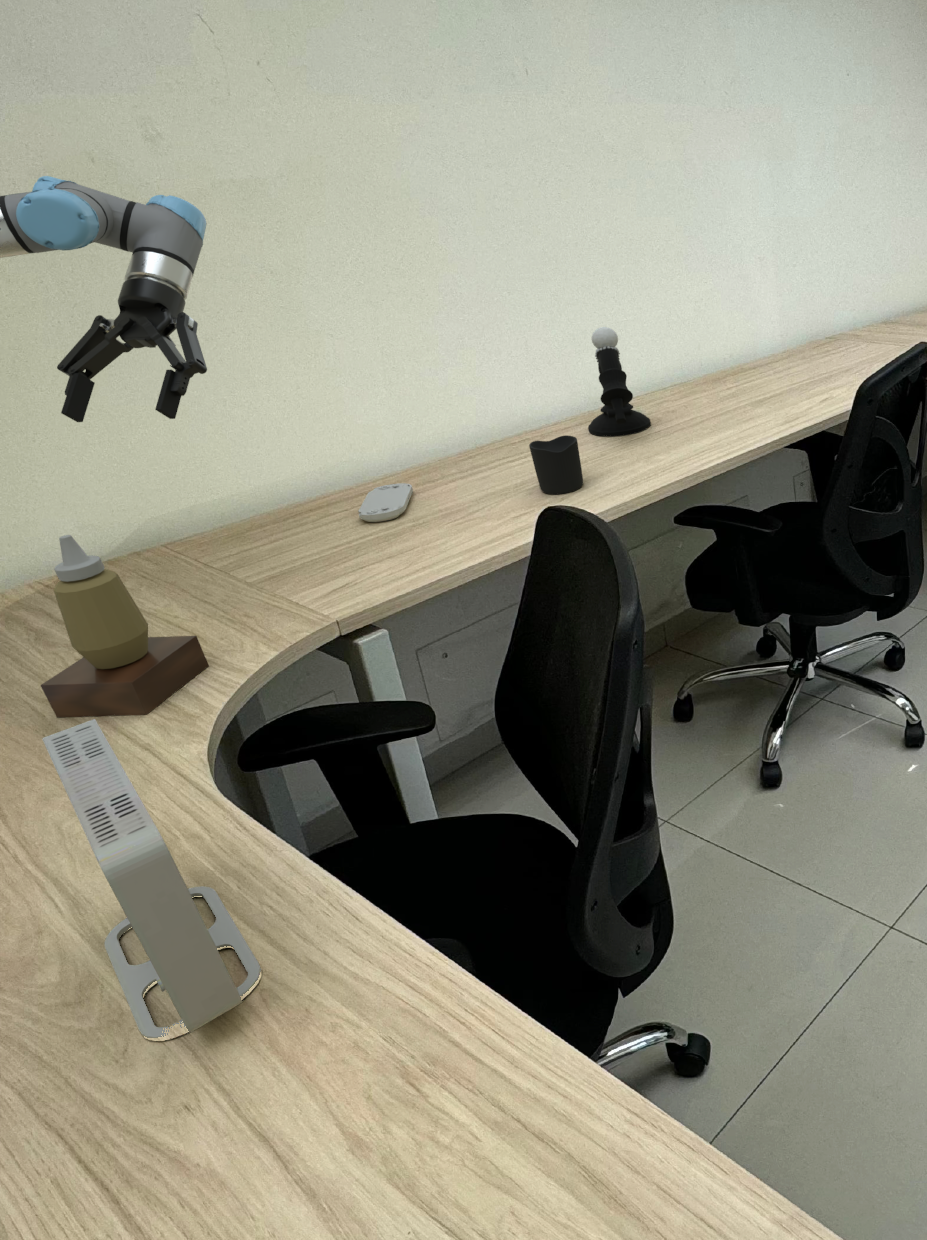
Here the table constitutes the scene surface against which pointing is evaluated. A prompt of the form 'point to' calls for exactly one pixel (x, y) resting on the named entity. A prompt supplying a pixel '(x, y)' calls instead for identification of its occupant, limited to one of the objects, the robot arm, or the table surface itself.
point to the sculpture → (614, 391)
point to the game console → (385, 502)
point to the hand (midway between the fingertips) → (118, 416)
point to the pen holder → (557, 464)
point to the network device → (148, 890)
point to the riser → (127, 681)
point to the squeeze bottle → (98, 610)
